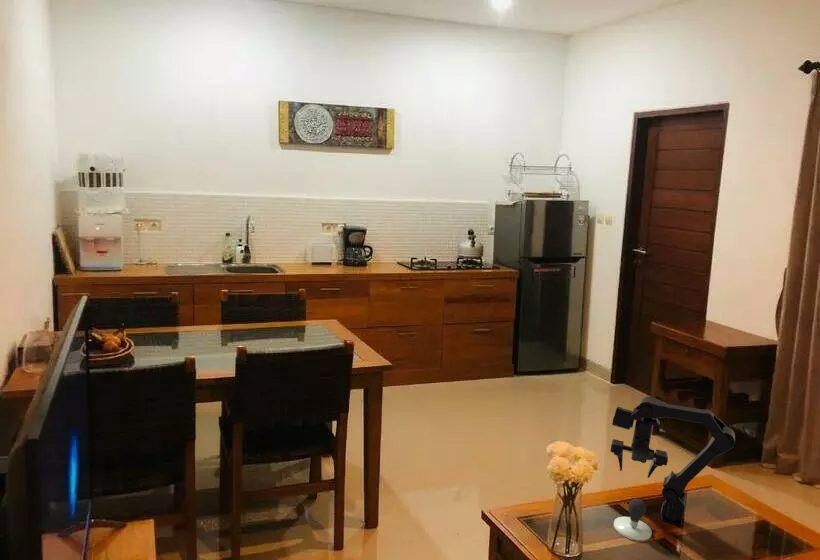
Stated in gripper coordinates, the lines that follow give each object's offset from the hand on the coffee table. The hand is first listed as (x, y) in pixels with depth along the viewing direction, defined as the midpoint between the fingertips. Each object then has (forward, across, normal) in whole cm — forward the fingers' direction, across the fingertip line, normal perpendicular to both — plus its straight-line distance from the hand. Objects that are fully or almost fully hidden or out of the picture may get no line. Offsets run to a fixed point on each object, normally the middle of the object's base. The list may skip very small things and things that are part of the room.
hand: (634, 474), depth 232 cm
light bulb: (+11, +2, -16) cm, 20 cm away
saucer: (+12, +2, -16) cm, 20 cm away
